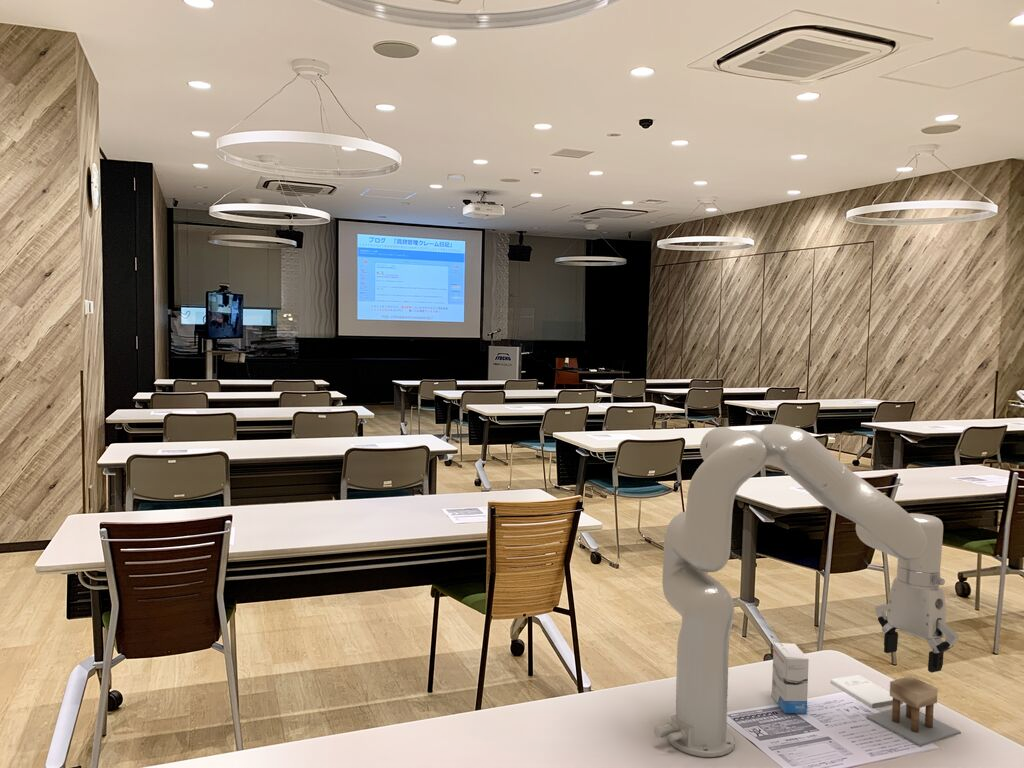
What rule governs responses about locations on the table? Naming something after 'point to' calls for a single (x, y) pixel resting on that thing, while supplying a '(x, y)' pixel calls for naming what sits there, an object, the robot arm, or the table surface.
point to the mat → (904, 727)
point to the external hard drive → (864, 691)
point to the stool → (913, 700)
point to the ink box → (790, 678)
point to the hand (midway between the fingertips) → (911, 661)
